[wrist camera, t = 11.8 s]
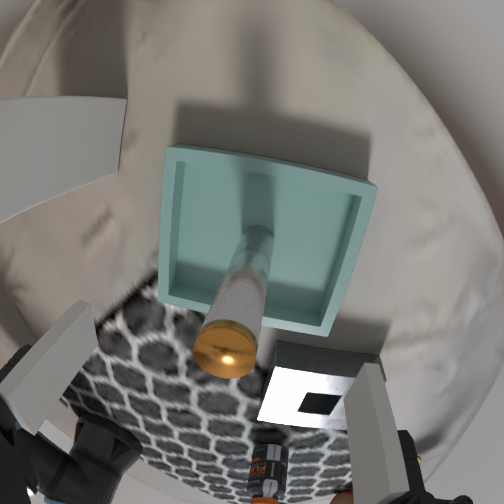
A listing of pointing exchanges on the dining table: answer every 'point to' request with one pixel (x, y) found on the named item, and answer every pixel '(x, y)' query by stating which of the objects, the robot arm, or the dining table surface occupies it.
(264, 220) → the tray
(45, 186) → the milk carton
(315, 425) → the block
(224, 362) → the pin
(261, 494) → the pill bottle
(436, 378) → the dining table surface
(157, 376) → the dining table surface
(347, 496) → the fruit
